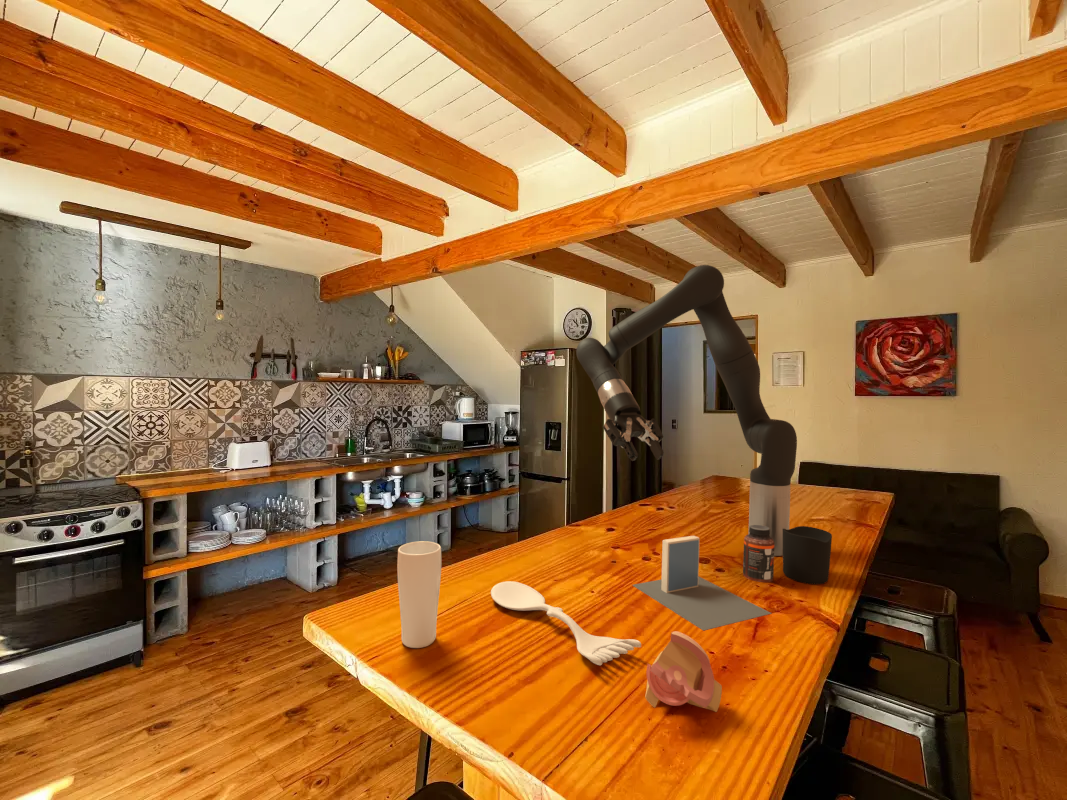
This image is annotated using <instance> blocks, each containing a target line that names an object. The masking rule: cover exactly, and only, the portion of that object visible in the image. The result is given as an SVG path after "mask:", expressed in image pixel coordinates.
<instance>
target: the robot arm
mask: <svg viewBox="0 0 1067 800" xmlns="http://www.w3.org/2000/svg"><path fill="white" fill-rule="evenodd" d="M724 287H725V278H724V275H723V273H722V272H721V270H719V269H718V268H717V267H715V266H712V265H709V264H701V265H697V266H695V267H692V268H691V269H689V270H688V271H687V272H686V273H685V275H684V276H683V279H682V280H681V281H679V282H678V284H677V285H675V286H674V288H671V290H669V291H668V292H666V294H664V295H662V296H661V297H660V298H658V299H656V300H655V301H653V302H652V303H649V304H647V305H645V307H642V308H641V309H639V310H637V311H636V312H634V313H632V314H631V315H629V316H627V317H626V318H625V319H623V320H622V321H620V322H618V323H617V324H616V325H614V326H613V327H611V328H610V329H609V331H608V337H609V340H608V342H607V343H606V344H605V345H603V344H602V343H601V342H600V340H598V339H596V338H595V337H587V338H583V339H582V340H580V341H579V343H578V344H577V347H576V357H577V360H578V361H579V363H580V365H581V367H582V368H583V370H584V371H585V373H586V374H587V376H588V377H589V378H590V380H591V382H592V385H593V387H594V389H595V391H596V393H597V395H598V398H599V401H600V403H601V405H602V407H603V409H604V411H605V413H606V415H607V417H608V418H607V420H606V421H605V423H604V424H603V425H602V428H603V430H604V432H605V434H606V435H607V437H608V438H609V440H610V441H611V443H612V445H613V446H615V447H618V446H620V447H621V448H622V449H623V450H624V452H625V454H626V456H627V458H628V459H630V461H632V462H633V461H636V460H637V458H638V457H639V453H638V451H637V450H636V447H635V446H634V443H633V441H631V438H638V439H639V440H640V441H641V442H645V443H646V444H647V445H648V446H649V449H650V451H651V452H652V455H653V457H655V459H656V460H660V459H662V458H663V456H664V450H663V448H662V446H661V444H660V442H661V441H662V440H663V438H664V435H663V433H662V430H661V427H660V426H659V423H658V421H657V419H655V418H651V420H648V419H645V418H644V416H642V415H641V414H642V413H641V408H640V405H639V404H638V402H637V400H636V398H635V397H634V395H633V394H632V392H631V390H630V388H629V387H628V385H627V384H626V383H625V381H624V379H623V377H622V376H621V374H620V372H619V370H618V369H617V368H616V367H615V366H614V365H615V364H616V363H617V362H618V361H619V360H620V358H622V357H623V356H624V355H625V353H626V352H627V351H629V350H630V349H632V348H633V347H635V346H636V345H638V344H640V343H641V342H643V341H644V340H645V339H647V338H648V337H650V336H652V335H653V334H655V332H658V330H660V329H662V328H663V327H664V326H666V325H667V324H669V323H671V322H672V321H674V320H675V319H677V318H679V317H680V316H683V315H684V314H686V313H688V312H690V311H694V313H695V314H696V317H697V319H698V320H699V323H700V325H701V327H702V330H703V333H704V336H705V339H706V343H707V346H708V349H709V352H710V354H711V356H712V360H713V363H714V365H715V367H716V369H717V372H718V374H719V376H720V378H721V380H722V382H723V384H724V386H725V389H726V391H727V393H728V396H729V398H730V400H731V403H732V404H733V407H734V408H735V409H734V410H735V412H736V415H737V418H738V421H739V422H738V423H739V424H740V428H741V431H742V434H743V437H744V440H745V441H746V444H747V445H748V448H750V449H751V451H753V452H755V453H758V454H761V456H760V464H759V465H758V466H757V467H756V468H755V467H754V468H752V469H751V470H750V473H749V502H748V503H749V507H748V513H749V515H748V527H749V526H751V525H762V526H766V527H768V528H770V537H771V538H772V539H773V540H774V557H779V556H780V557H781V556H782V557H783V529H786V530H789V529H790V517H791V515H790V514H791V513H790V510H791V508H790V507H791V482H792V481H791V480H792V478H793V475H794V473H795V471H796V470H795V469H796V459H797V458H796V457H797V449H798V448H797V447H798V439H797V437H798V436H797V432H796V430H795V428H794V426H793V424H791V423H790V422H788V421H786V420H781V419H775V418H771V417H770V416H769V414H768V412H767V410H766V408H765V406H764V403H763V401H762V398H761V395H760V391H761V390H760V387H761V385H760V384H761V369H760V365H759V362H758V359H757V357H756V355H755V353H754V350H753V348H752V346H751V344H750V342H749V340H748V339H747V337H746V335H745V334H744V332H743V330H742V329H741V328H740V326H739V324H738V323H737V322H736V320H735V319H734V317H733V315H732V314H731V312H730V308H729V307H728V305H727V302H726V298H725V295H724V293H723V290H724ZM644 432H645V433H644ZM649 437H650V438H649ZM748 534H750V532H749V531H748ZM748 534H747V535H748Z"/></svg>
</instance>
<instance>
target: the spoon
mask: <svg viewBox="0 0 1067 800" xmlns="http://www.w3.org/2000/svg"><path fill="white" fill-rule="evenodd" d="M490 595H491V596H490V597H491V598H492V600H493V601H494V602H495V603H496V604H498V605H499V606H501V607H503V608H504V609H505V608H506V609H508V610H513V611H543V612H546V615H547V616H548V617H552V618H556V619H558V620H560V621H562V622H563V623H564V624H565V625H567V626H568V627H569V629H570V630H571V632H572V634H573V636H574V638H575V641H576V649H577V651H578V653H580V654H581V655H582V656H583V657H584V658H586V659H587V660H589V661H590V662H591V663H593V664H595V665H597V666H602V665H603V663H608V661H613V658H616V659H617V658H619V657H620V656H621V655H622V654H623V655H624V654H625V655H626V654H628V652H629V651H634V649H635V648H642V643H641V641H639V639H638V640H637V639H632V638H631V639H630V638H628V639H625V638H624V639H623V638H622V639H621V638H616V637H615V638H614V637H610V636H598V635H593V634H590V633H588V632H586V631H585V630H584V629H583V628H582V627H581V626H579V624H578V623H577V622H576V621H575V620H574V619H573V618H572V617H571V616H569V615H568V614H566V613H564V610H563V608H561V607H558V606H557V607H556V606H555V607H554V606H552V605H549V604H547V603H546V600H545V597H544V595H542V594H541V593H540V592H539V591H537V590H536V589H534V588H533V587H531V586H529V585H527V584H524V583H521V582H518V581H513V580H511V581H510V580H509V581H502V582H499V583H496V584H495V585H494V586H493V587H492V588H491V590H490Z"/></svg>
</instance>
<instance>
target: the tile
mask: <svg viewBox="0 0 1067 800" xmlns="http://www.w3.org/2000/svg"><path fill="white" fill-rule="evenodd" d="M661 548H662V549H661V550H662V553H661V579H662V584H661V590H662V591H664V592H666V593H669V592H674V591H679V590H684V589H689V588H694V587H698V576H699V573H700V572H699V567H700V565H699V564H700V537H698V536H696V535H690V536H689V535H688V536H681V537H674V538H668V539H667V538H666V539H663V540H662V547H661Z"/></svg>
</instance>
